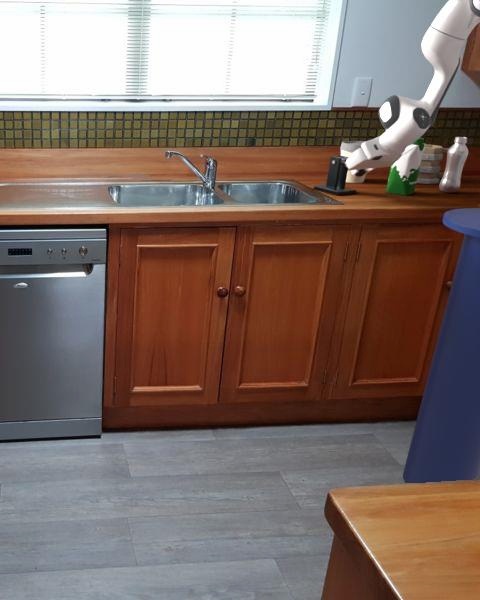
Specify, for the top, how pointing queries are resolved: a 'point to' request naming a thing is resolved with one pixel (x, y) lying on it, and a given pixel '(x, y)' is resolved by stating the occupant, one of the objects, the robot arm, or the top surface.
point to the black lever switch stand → (336, 178)
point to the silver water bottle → (454, 166)
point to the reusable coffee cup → (347, 151)
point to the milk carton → (406, 170)
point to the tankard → (431, 164)
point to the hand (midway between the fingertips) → (358, 172)
